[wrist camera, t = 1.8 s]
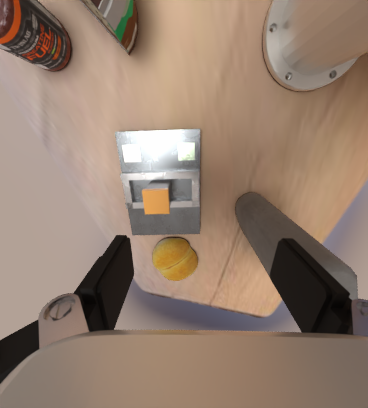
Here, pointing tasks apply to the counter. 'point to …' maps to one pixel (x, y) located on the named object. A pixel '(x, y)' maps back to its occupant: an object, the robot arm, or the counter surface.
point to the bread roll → (174, 258)
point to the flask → (285, 228)
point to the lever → (157, 197)
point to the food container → (116, 19)
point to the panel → (161, 178)
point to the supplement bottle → (33, 34)
